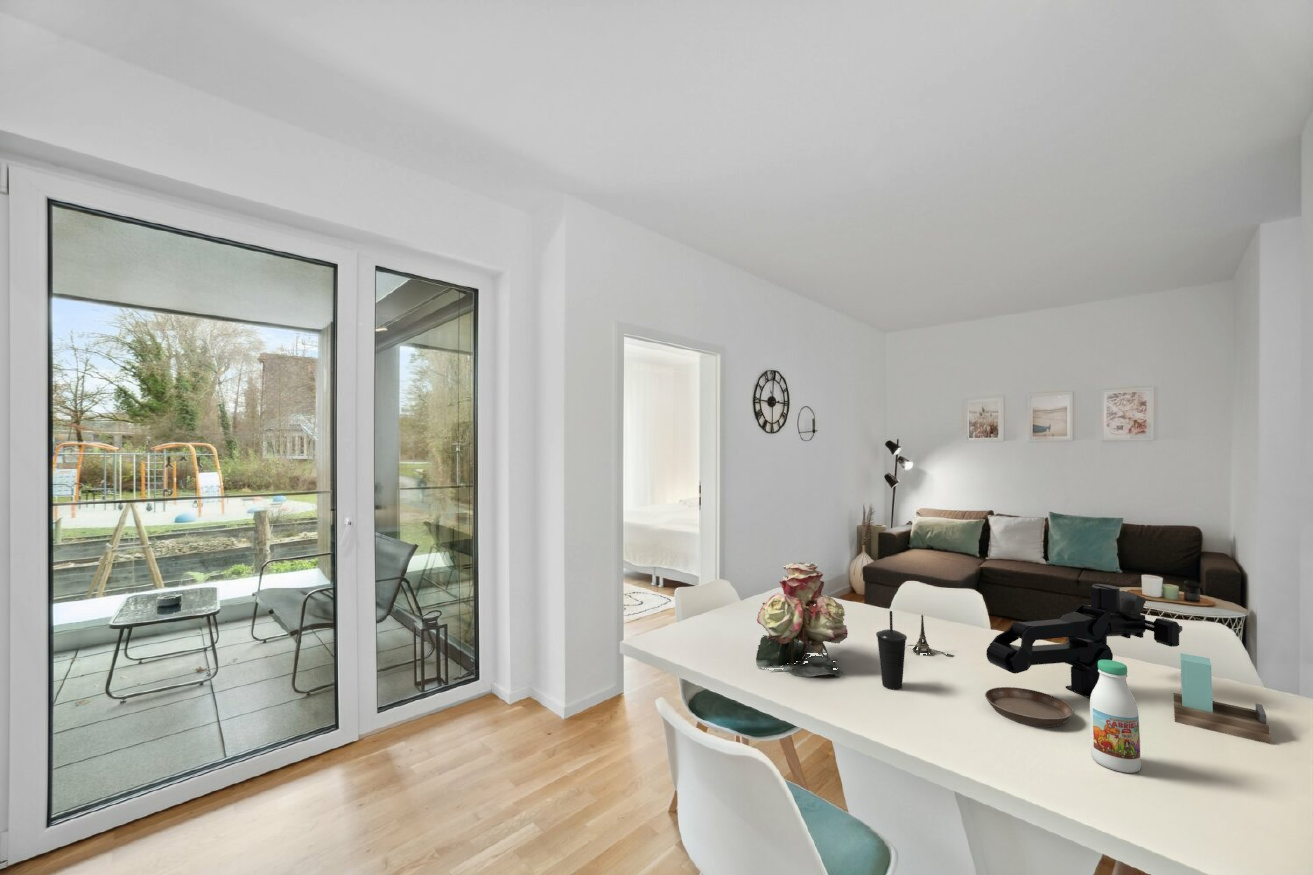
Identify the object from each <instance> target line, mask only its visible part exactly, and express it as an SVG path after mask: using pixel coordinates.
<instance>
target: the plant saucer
mask: <svg viewBox="0 0 1313 875" xmlns="http://www.w3.org/2000/svg"><path fill="white" fill-rule="evenodd" d="M984 697H985V698H986V701H987V702H988V703H989V706H991V707H992V708H993V709H994V710H995V711H996V712H997V713H998V714H999V715H1001V716H1003V717H1005V718H1007V719H1009V720H1012V721H1014V722H1016V723H1021V724H1023V725H1024V724H1025V725H1027V726H1028V725H1029V726H1035V727H1042V728H1043V727H1046V728H1047V727H1049V728H1050V727H1058V726H1060V725H1063V724H1064V723H1066V722H1068V720H1069V719H1070V718H1071V717H1072V715H1073V714H1074V709H1073V707H1072V706H1071V704H1069V703H1067V702H1065V701H1064V700H1063V699H1061V698H1059V697H1056V696H1054V695H1051V694H1047V693H1044V692H1043V691H1037V690H1033V689H1029V688H1028V689H1027V688H1021V687H1016V686H1015V687H1014V686H1013V687H1011V686H1005V687H1004V686H1003V687H1000V686H999V687H993V688H990V689H988V690H986V691H985V694H984Z"/></svg>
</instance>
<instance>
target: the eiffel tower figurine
mask: <svg viewBox="0 0 1313 875" xmlns="http://www.w3.org/2000/svg"><path fill="white" fill-rule="evenodd" d="M920 617H921V620H920V624H921V625H920V634H919V638H918V640H917V641H916V644H908V645H907V646H915V647H914V648H913V649H911V651H912V650H913V651H912V652H913V654H915V653H916V654H915V655H916V656H920V653H927V655H926V654H923V656H924V657H925V656H926V657H935V654H934V653H941V654H943V653H945V652H942V651H940V650H937V649H933V648H931V647H930V645H929V643H928V642H927V636H926V634H925V633H926V632H925V625H924V615H923V614H921V616H920ZM917 647H918V650H916V649H917ZM933 652H934V653H933ZM929 653H930V654H929ZM944 655H945V654H944ZM945 657H949V658H954V657H955V655H954V654H951V653H947V655H945Z"/></svg>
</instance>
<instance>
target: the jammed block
mask: <svg viewBox="0 0 1313 875" xmlns="http://www.w3.org/2000/svg"><path fill="white" fill-rule="evenodd" d="M1180 676H1181V679H1180V681H1181V694H1182V706H1185V707H1189V708H1194V709H1199V710H1203V711H1208V712H1212V713H1213V702H1212V701H1213V679H1212V663H1211V660H1210V657H1203V656H1199V655H1198V656H1197V655H1193V654H1187V653H1180Z"/></svg>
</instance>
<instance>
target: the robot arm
mask: <svg viewBox="0 0 1313 875" xmlns="http://www.w3.org/2000/svg"><path fill="white" fill-rule="evenodd" d="M1089 589H1090V590H1089V591H1090V605H1089V604H1084V603H1080V604H1079V605H1078V606H1077V607H1076V608H1075V609H1074V610H1073V611H1071V612H1069V613H1066V614H1062V616H1061V617H1060V618H1054V619H1045V620H1034V621H1023V622H1022V621H1015V622H1013V623H1012V624H1011V625H1010V626H1009V628H1008V629H1007V630H1005V631H1003V632H1001V633H999V634H997V635H996V636H995V637H994V639H993V640H992V641H991V642H990V643H989V645H988V647H987V648H986V653H985V655H986V659H987V661H988V662H989V663H990V664H992V665H994V666H996V667H999V668H1001V669H1003V670H1005V671H1007V672H1009V673H1011V674H1020V673H1023V672H1027V671H1029V669H1030V668H1031V667H1032V666H1037V665H1038V666H1039V665H1050V664H1051V665H1052V664H1053V665H1054V664H1063V663H1064V664H1066V665H1069V666H1070V685H1065V688H1066V689H1067V690H1070V691H1072V692H1074V693H1076V694H1078V695H1081V696H1083V697H1086V698H1089V699H1090V697H1091V693H1092V691H1093V689H1094V687H1095V686H1096V684H1097V682H1098V680H1099V676H1100V673H1099V672H1098V661H1099V660H1112V661H1113V659H1114V654H1113V652H1112V649H1111V647H1110V645H1109V644H1108V641H1107V640H1108V637H1122V638H1125V639H1131V636H1133V637H1136V638H1139V639H1144V633H1145V632H1146V631H1150V632H1153V640H1154V641H1155V642H1156V643H1157V644H1161V645H1164V646H1167V647H1171V648H1172V647H1178V646H1180V634H1181V633H1182V632H1183V626H1182V625H1180V624H1179V623H1178V622H1177V621H1174V620H1170V619H1168V618H1165V617H1157V618H1156V619H1154V621H1152V620H1148V619H1146V615H1145V614H1142V613H1143V610H1144V606H1145V604H1146V601H1147V600H1146V598H1145V597H1143V596H1141V595H1139V594H1136V593H1135V592H1129V591H1125V590H1121V588H1120V587H1119V586H1115V585H1111V584H1104V583H1102V584H1101V583H1094V584H1092V586H1090V588H1089ZM1061 638H1062V639H1063V638H1068V640H1067V641H1066V642H1064V643H1054V644H1053V643H1051V644H1041V645H1040V644H1037V645H1034V644H1035V642H1036V641H1041V640H1051V639H1052V640H1053V639H1061ZM1018 639H1020V640H1021V643H1020V646H1019V645H1016V644H1012V643H1014V642H1016V641H1018Z"/></svg>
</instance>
